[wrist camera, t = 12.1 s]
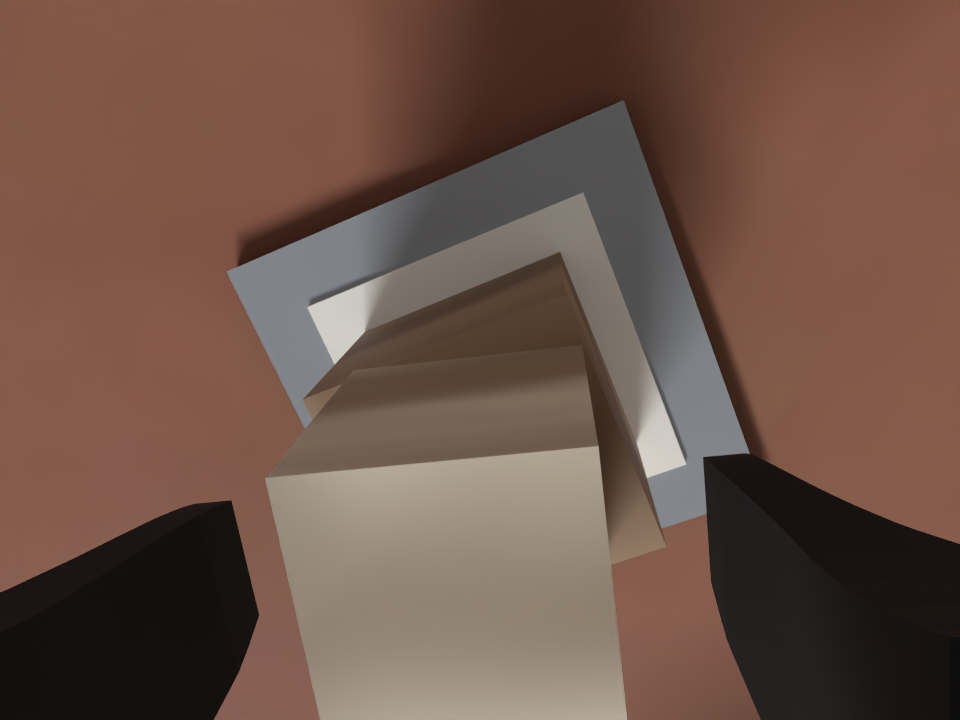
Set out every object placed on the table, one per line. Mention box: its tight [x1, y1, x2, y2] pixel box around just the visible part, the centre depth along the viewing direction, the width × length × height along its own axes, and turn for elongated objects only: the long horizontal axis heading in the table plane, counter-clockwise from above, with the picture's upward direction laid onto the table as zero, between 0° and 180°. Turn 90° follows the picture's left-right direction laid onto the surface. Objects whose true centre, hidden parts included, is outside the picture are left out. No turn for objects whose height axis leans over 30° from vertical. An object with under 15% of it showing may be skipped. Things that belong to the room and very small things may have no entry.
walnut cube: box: [303, 252, 667, 565], centre depth 17 cm, size 5×5×5 cm
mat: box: [227, 100, 750, 528], centre depth 19 cm, size 10×10×1 cm
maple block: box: [265, 345, 627, 720], centre depth 12 cm, size 4×4×4 cm
